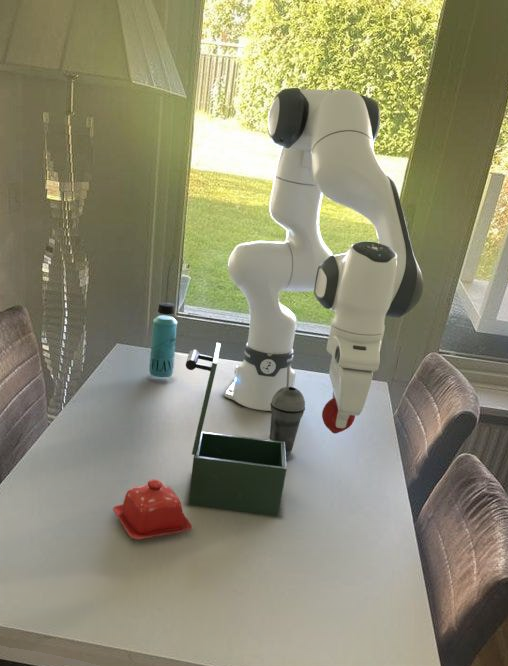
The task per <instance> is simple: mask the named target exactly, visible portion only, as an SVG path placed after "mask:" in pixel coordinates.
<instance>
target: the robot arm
mask: <svg viewBox="0 0 508 666" xmlns="http://www.w3.org/2000/svg"><path fill="white" fill-rule="evenodd" d="M270 105H271V106H270V108H269V111H268V115H267V117H268V118H267V126H268V134H269V138H270V139H271V141H272V142H273V144H274V145H277V146H279V147H281V149H280V153H279V156H278V159H277V164H276V166H275V172H274V178H273V183H272V189H271V193H270V200H269V205H268V208H269V213H270V217H271V219H273V221H274V222H275V223H277V224H278V225H279V226H281V227H282V228H283V229H285V231H286V237H285V241H267V240H255V241H250V242H244V243H239V244H238V245H236V246H235V248H234V249H233V250H232V252H231V254H230V256H229V258H228V265H227V267H228V274H229V278H230V279H231V281H232V283H233V284H234V285H235V287H237V288H238V289H239V290H240V292H242V294H243V296H244V297H245V299H246V302H247V305H248V308H249V327H248V328H249V329H248V336H247V342H246V344H245V348H244V350H243V361H242V362H241V363H239V364H238V365H236V366H235V368H234V378H233V381H232V383H231V384H230V386H229V387H228V388H227V389H226V391H225V393H224V397H225V398H227V399H230V400H232V401H234V402H236V403H238V404H239V405H242V406H243V407H246V408H249V409H252V410H256V411H257V410H258V411H268V412H271V402H272V399H273V396H274V395H275V393H276V392H277V391H278V390H280V389H281V388H284V387H286V385H287V367H288V366H290V375H289V387H294V388H295V385H296V384H295V383H296V377H297V375H296V372H295V370H294V369H293V368H292V363H293V359H294V352H295V351H294V349H293V346H294V341H295V336H296V330H297V318H296V315H295V314H294V313H293V311H291V309H289V308H288V307H287V306H285V305H283V304H282V303H280V294H281V292H301V293H302V292H303V293H304V292H305V293H306V292H312V291H313V296H314V297H315V298H316V300H317V301H318V303H319V304H320V305H321V306H322V307H323V308H324V309H327V310H330V311H333V312H334V315H333V318H332V320H331V323H330V328H329V334H328V338H327V344H326V348H325V350H326V352H327V353H328V354H329V355H331V360H330V364H329V370H328V377H329V379H330V383H331V388H332V398H335V399H336V403H337V407H338V414H337V415H336V420H335V425H336V427H337V428H345V427H346V424H347V420H348V418H349V416H350V415H355V416H360V415H361V413H362V412H363V409H364V408H365V404H366V401H367V397H368V395H369V392H370V388H371V384H372V381H373V375H374V372H378V371H379V367H380V362H381V356H380V355H381V354H380V351H381V348H382V343H383V338H384V334H385V330H386V329H385V328H386V325H385V321H386V317H389V318H396V319H399V318H402V317H403V316H405V315H406V314H408V313H409V312H410V311H412V310H413V309H414V308H415V307H416V306H417V305H418V304H419V302H420V301H421V298H422V295H423V292H424V279H423V278H424V277H423V274H422V271H421V269H420V268H421V267H420V266H419V264H418V261H417V259H416V256H415V255H414V252H413V251H414V250H413V248H412V243H411V239H410V235H409V230H408V227H407V222H406V218H405V214H404V210H403V207H402V203H401V198H400V195H399V192H398V189H397V186H396V184H395V182H394V180H393V179H392V178H391V177H390V176H388V174H386V172H385V171H384V170H383V168H382V166H381V165H380V163H379V161H378V158H377V157H376V154H375V150H374V143H375V141H376V139H377V137H378V134H379V131H380V125H381V109H380V106H379V104H378V102H377V101H376V100H375V99H373V98H371V97H369V96H366V95H362V94H359V93H358V92H356V91H355V90H352V89H345V88H342V89H337V90H334V89H329V90H325V89H309V88H307V89H300V88H299V87H289V88H284V89H281V90H280V91H279V92H278V93H277V94H276V95H275V97H274V98H273V100H272V103H271V104H270ZM323 196H324V197H326V199H328V200H330V201H331V202H334V203H335V204H338V205H340V206H344V207H346V208H347V209H350V210H353V211H354V212H357V213H359V214H360V215H362V216H363V217H364V218H366V219H367V220H369V222H370V223H371V224H372V225H373V227H374V229H375V233H376V237H377V240H378V242H376V241H369V240H365V241H364V240H363V241H358V242H355V243H353V244H351V245H350V246H349V248H348V250H347V252H344V253H339V254H333V252H332V250H330V248H329V247H328V246H327V245H326V243H325V242H324V240H323V237H322V234H321V230H320V214H321V213H320V212H321V205H322V200H323Z"/></svg>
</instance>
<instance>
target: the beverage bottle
mask: <svg viewBox="0 0 508 666" xmlns="http://www.w3.org/2000/svg"><path fill="white" fill-rule="evenodd" d="M157 312H158V313H159V314H162V315H157V316H156V317H155V318H154V319H153V320H152V335H151V348H150V354H149V355H150V357H149V368H148V371H149V375H150V376H153V377H155V378H170V377H172V376H173V373H174V370H175V369H174V368H175V365H174V364H175V356H176V355H175V350H176V345H177V344H176V343H177V342H176V341H177V325H178V321H177V320H176V319H175V318H174V317H173V316H171V315H173V314H174V315H175V304H173V303H170V302H160V303H159V304H158V308H157Z"/></svg>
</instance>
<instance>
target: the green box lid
mask: <svg viewBox="0 0 508 666" xmlns="http://www.w3.org/2000/svg"><path fill="white" fill-rule="evenodd" d="M221 347H222V343H221V342H216V343H215V348H214V353H213V356H210V355H205V354H201V353H200V352H199V351H198V350H197V349H191V350H190V351H189V352H188V355H187V357H186V362H185V368H186V369H187V370H189V371H193V370H195V369H199V370H204V371H208V372H209V375H208V380H207V383H206V388H205V391H204V392H205V393H204V396H203V402H202V406H201V411H200V415H199V418H198V422H197V427H196V432H195V436H194V442H193V446H192V452H191V455H193V456H194V455H196V453H197V449H198V445H199V441H200V436H201V432H203V427H204V423H205V418H206V415H207V409H208V405H209V401H210V398H211V397H210V396H211V393H212V388H213V383H214V380H215V375H216V371H217V367H218V362H219V357H220V353H221V352H220V351H221ZM198 360H203V361H207V362H211V365H209V364H205V363H204V364H203V363H199V362H198Z"/></svg>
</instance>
